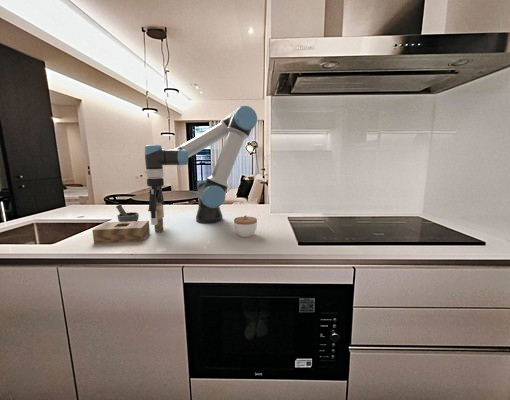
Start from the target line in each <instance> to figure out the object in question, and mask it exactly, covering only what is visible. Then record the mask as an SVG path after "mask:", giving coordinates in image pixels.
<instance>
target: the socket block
mask: <svg viewBox="0 0 510 400" xmlns="http://www.w3.org/2000/svg"><path fill="white" fill-rule="evenodd" d="M150 231H151V230H150V221H149V220H138V221H129V222H119V221H108V222H106V221H105V222H103V223H102V224H99V225H98V226H96V227H95V228H93V229H92V231H91V232H92V238H93V244H105V243H125V242H126V243H127V242H143V241H144V240H145V239H146V238H147V237H148V236H149V234H150V233H151V232H150Z"/></svg>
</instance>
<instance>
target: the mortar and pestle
mask: <svg viewBox="0 0 510 400" xmlns="http://www.w3.org/2000/svg"><path fill="white" fill-rule="evenodd" d="M115 208H116V209H117V211H118V212H119V214H117V220H118V221H117V222H129V221H139V217H140V216H139V213H138V212H132V211H131V212H126V210H125V209H124V207H123V205H122V204H120V203H119V204H117V205H116V206H115Z"/></svg>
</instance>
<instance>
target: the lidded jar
mask: <svg viewBox="0 0 510 400" xmlns="http://www.w3.org/2000/svg"><path fill="white" fill-rule="evenodd" d="M233 223H234V225H233V226H234V230H235V232H236V233H237V235H238V236H240V238H250V237H252V236H253V235H254V234H255V232H257V231H256V230H257V225H258V224H257V223H258V218H257V217H254V216H248V215H244V216H239V217H235V218H234V219H233Z"/></svg>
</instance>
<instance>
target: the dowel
mask: <svg viewBox="0 0 510 400" xmlns="http://www.w3.org/2000/svg"><path fill="white" fill-rule="evenodd" d="M156 211H157V220H158V224H157V225H154V232H155V233H162V232H164V217H163V216H162V203H157V207H156Z"/></svg>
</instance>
